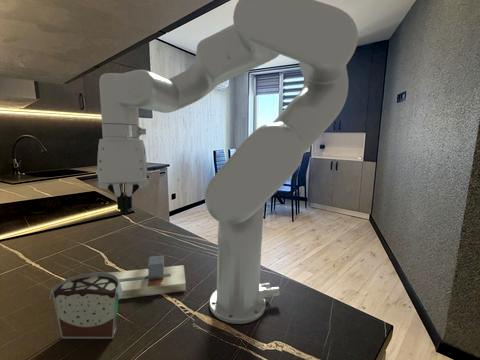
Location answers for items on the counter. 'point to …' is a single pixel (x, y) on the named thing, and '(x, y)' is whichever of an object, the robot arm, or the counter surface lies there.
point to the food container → (87, 305)
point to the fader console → (151, 282)
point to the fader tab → (156, 267)
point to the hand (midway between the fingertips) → (125, 211)
